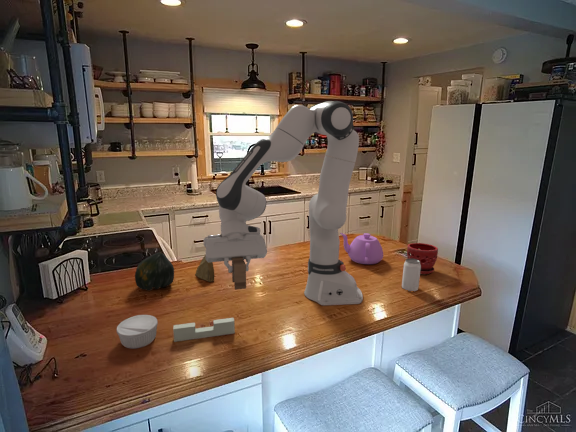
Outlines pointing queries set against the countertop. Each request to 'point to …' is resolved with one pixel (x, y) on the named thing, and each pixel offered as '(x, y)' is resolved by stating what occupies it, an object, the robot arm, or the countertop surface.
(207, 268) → the rock
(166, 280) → the squash
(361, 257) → the teapot
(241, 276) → the walnut block
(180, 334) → the slotted rail
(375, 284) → the countertop surface
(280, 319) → the countertop surface
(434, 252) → the plant pot
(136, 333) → the ramekin
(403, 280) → the can
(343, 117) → the robot arm
